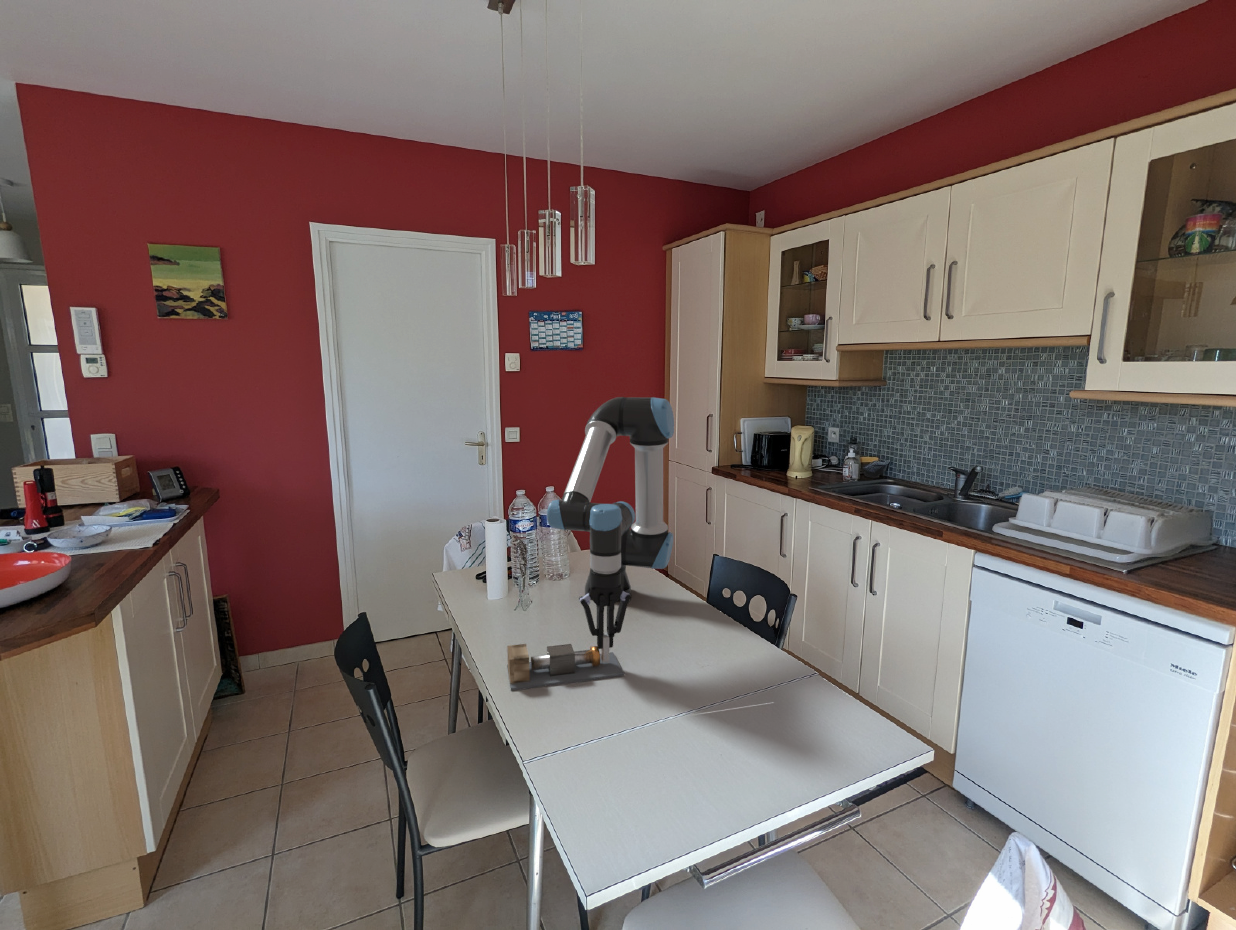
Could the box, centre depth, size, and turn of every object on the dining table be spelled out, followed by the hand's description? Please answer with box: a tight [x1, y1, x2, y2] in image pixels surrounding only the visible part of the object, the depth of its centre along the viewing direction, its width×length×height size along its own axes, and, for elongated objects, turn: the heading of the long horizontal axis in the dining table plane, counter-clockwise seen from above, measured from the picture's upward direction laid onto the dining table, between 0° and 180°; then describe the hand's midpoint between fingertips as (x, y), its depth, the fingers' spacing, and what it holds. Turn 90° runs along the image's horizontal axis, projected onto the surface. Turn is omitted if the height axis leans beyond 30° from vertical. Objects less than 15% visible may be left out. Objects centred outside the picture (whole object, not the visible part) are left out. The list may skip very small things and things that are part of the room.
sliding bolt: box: [530, 645, 601, 671], centre depth 143 cm, size 16×5×5 cm, turn 105°
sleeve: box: [546, 643, 575, 677], centre depth 143 cm, size 6×5×5 cm
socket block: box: [506, 643, 530, 685], centre depth 140 cm, size 4×7×6 cm, turn 15°
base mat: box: [506, 651, 625, 691], centre depth 143 cm, size 27×11×1 cm, turn 105°
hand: (605, 659), depth 146 cm, fingers closed
